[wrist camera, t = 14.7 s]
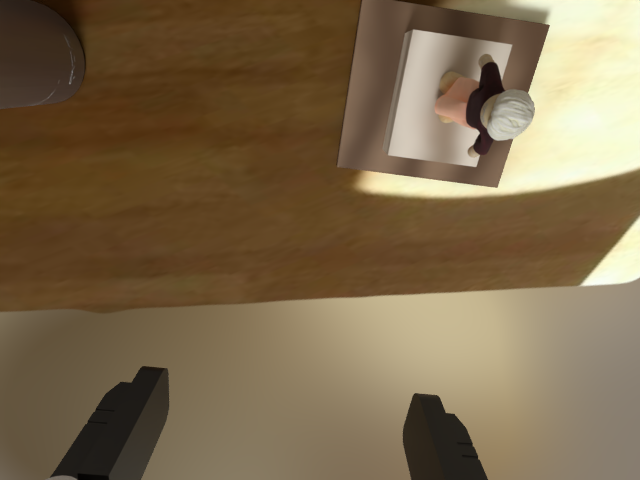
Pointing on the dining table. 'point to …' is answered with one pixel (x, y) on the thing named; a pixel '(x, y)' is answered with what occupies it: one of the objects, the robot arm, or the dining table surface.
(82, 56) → the robot arm
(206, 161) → the dining table surface
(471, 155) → the grandmother figurine
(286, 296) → the dining table surface
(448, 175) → the plinth
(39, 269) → the dining table surface
